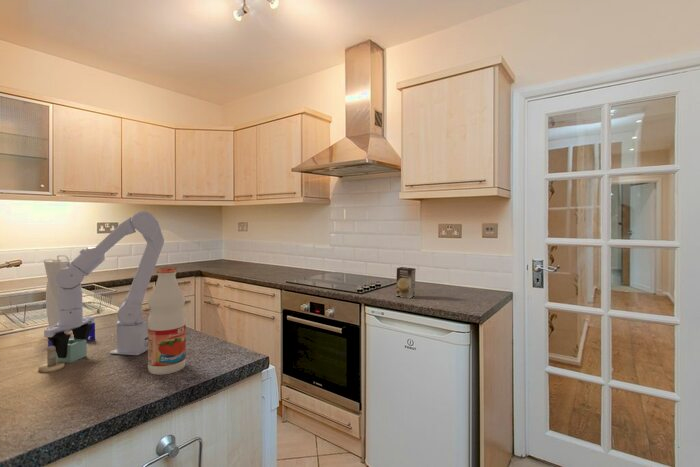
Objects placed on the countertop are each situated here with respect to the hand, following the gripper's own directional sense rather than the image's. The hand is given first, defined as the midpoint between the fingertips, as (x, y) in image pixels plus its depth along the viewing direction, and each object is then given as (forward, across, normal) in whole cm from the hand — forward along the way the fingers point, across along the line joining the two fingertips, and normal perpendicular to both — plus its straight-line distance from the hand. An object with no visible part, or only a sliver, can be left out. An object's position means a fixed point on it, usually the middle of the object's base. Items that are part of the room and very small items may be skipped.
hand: (71, 353), depth 107 cm
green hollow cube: (+1, 0, 0) cm, 1 cm away
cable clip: (+2, -12, -11) cm, 16 cm away
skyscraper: (+2, -24, -29) cm, 38 cm away
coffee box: (+2, -109, +100) cm, 147 cm away
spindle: (+1, +7, +1) cm, 7 cm away
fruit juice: (+2, +2, +32) cm, 32 cm away
